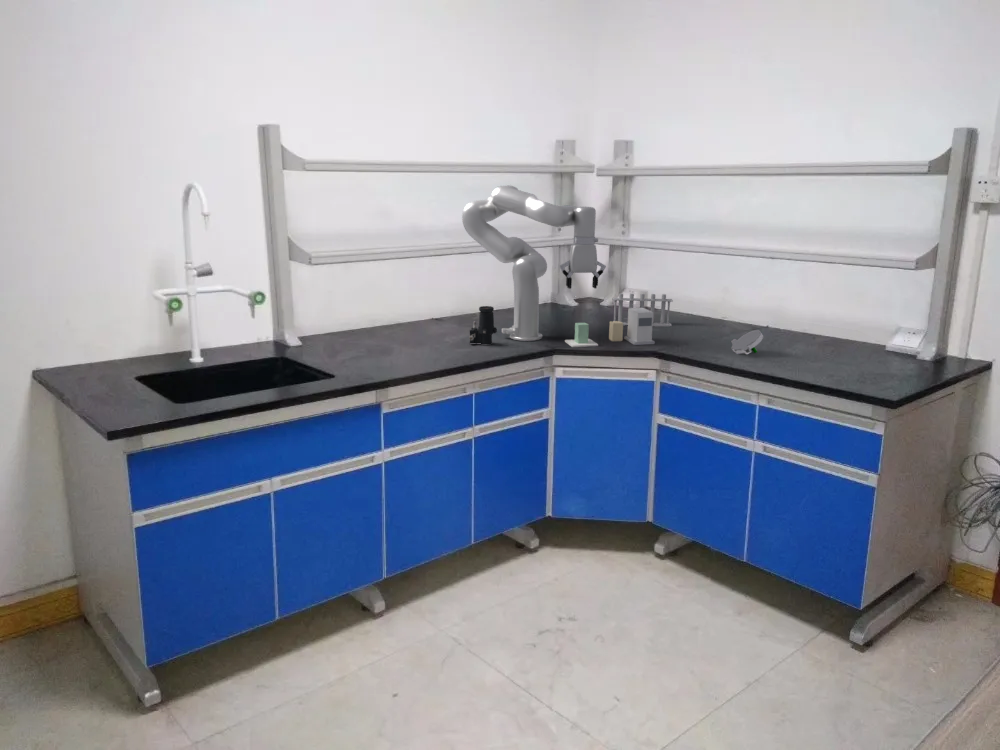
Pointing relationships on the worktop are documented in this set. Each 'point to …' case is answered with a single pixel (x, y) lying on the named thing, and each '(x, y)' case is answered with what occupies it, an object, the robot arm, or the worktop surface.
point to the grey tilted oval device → (747, 342)
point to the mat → (574, 344)
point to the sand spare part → (615, 331)
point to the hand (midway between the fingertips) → (581, 288)
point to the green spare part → (581, 332)
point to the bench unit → (639, 326)
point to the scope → (483, 326)
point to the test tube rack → (641, 299)
